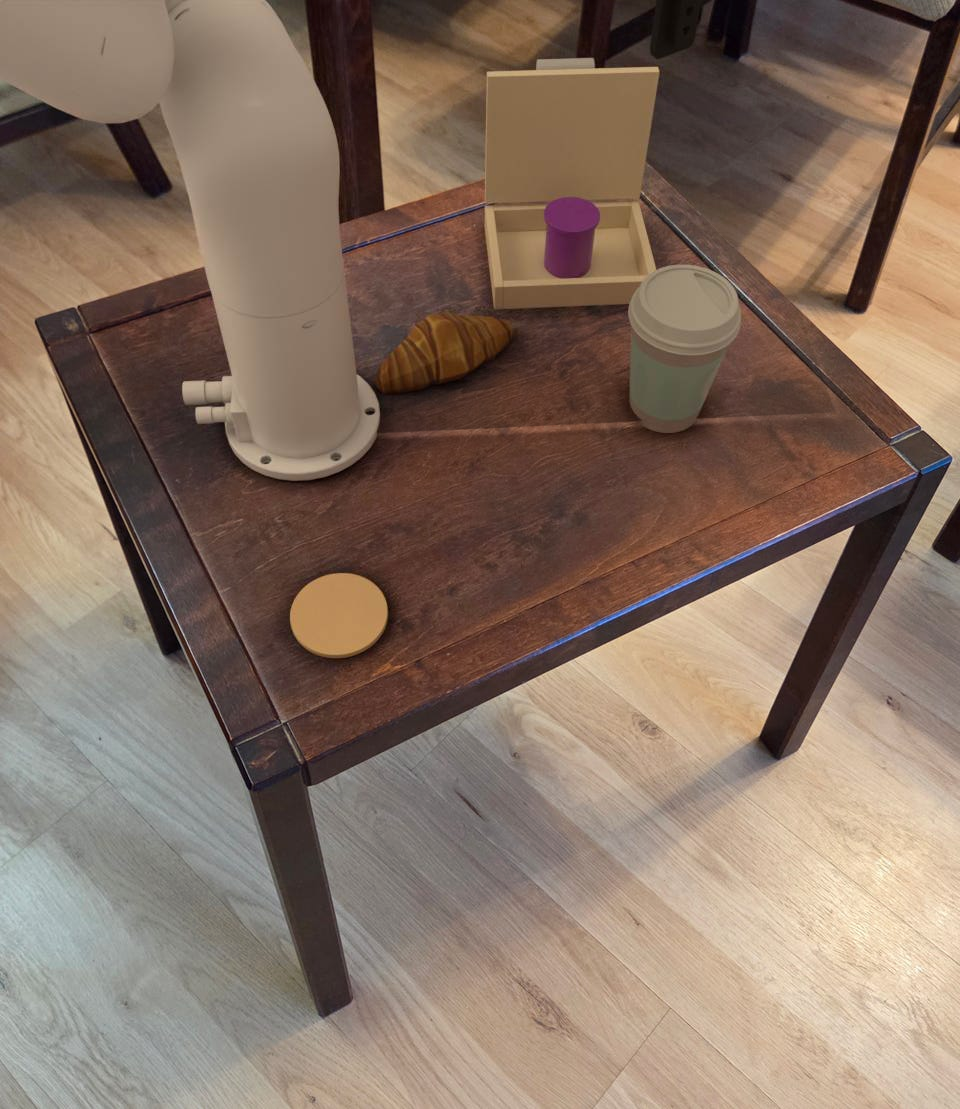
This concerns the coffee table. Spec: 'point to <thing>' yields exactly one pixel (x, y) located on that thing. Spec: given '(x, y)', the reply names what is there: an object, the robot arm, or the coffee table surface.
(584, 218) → the coffee pod
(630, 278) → the shallow wooden crate
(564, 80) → the box lid
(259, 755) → the coffee table surface
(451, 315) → the croissant
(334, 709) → the coffee table surface
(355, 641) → the coaster
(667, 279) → the coffee cup
